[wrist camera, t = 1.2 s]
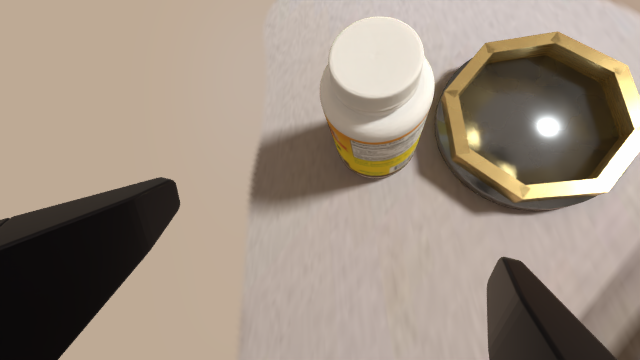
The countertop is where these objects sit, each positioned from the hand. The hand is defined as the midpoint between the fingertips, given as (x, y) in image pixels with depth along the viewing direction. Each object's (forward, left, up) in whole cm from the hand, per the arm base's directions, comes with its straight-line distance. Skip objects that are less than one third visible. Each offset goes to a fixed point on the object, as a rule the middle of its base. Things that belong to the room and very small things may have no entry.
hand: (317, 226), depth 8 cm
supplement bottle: (+7, -2, -13) cm, 15 cm away
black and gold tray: (+7, -12, -13) cm, 19 cm away
